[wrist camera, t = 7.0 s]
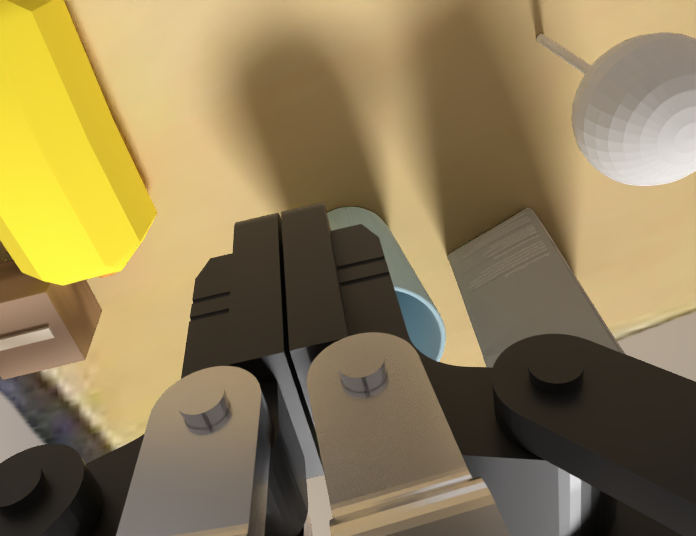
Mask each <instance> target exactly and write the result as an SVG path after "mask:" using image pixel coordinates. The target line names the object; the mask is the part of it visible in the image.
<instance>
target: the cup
mask: <svg viewBox="0 0 696 536" xmlns="http://www.w3.org/2000/svg"><path fill="white" fill-rule="evenodd" d="M327 215H328V219H329V223H330V228H331V231H332V230H337V229H341V228H345V227H350V226H354V225H358V224H362V225H364V226H365V227H366V228H368V229H369V230H370V231H371V232H373V233H374V234H375V235H377V236H378V237H379V239H380V243H381V246H382V249H383V253H384V256H385V260H386V263H387V266H388V269H389V273H390V276H391V279H392V282H393V286H394V289H395V292H396V296H397V299H398V302H399V306H400V309H401V312H402V316H403V319H404V322H405V325H406V329H407V332H408V335H409V338H410V340H411V342H412V343H413V344H414V346H415V347H416V348H417V349H418V350H419V351H420V352H421V353H423V354H424V355H426V356H427V357H429V358H431V359H433V360H435V361H438V362H439V361H440V359H441V357H442V354H443V351H444V347H445V340H446V334H445V327H444V323H443V320H442V318H441V316H440V314H439V312H438V310H437V309H436V307H435V305H434V304H433V302H432V300H431V299H430V297H429V295H428V294H427V292H426V290H425V289H424V287H423V285H422V284H421V282H420V280H419V279H418V277H417V275H416V273H415V272H414V270H413V268H412V267H411V265H410V263H409V261H408V260H407V258H406V256H405V255H404V253H403V251H402V250H401V248H400V246H399V244H398V243H397V241H396V239H395V238H394V236H393V234H392V233H391V231H390V230H389V228H388V226H387V225H386V223H385V222H384V221H383V220H382V219H381V218H380V217H379V216H378V215H377V214H375V213H374V212H371V211H369V210H366V209H364V208H360V207H343V208H338V209H334V210H332V211H330V212H328V213H327Z"/></svg>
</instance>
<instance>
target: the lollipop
mask: <svg viewBox="0 0 696 536" xmlns="http://www.w3.org/2000/svg"><path fill="white" fill-rule="evenodd" d="M537 41H538V42H539V43H540V44H542V45H543V46H545V47H546V48H548V49H549V50H551V51H552V52H553V53H555V54H556V55H558V56H559V57H561V58H562V59H564V60H565V61H566V62H568V63H569V64H571V65H572V66H574V67H575V68H577V69H578V70H579V71H581V72H582V73H584V74H585V75H584V77H583V78H582V80H581V82H580V84H579V87H578V89H577V91H576V95H575V98H574V102H573V106H572V117H571V118H572V126H573V132H574V136H575V139H576V142H577V145H578V147H579V149H580V150H581V152H582V153H583V155H584V156H585V158H586V159H587V160H588V162H589V163H590V164H591V165H592V166H593V167H595V168H596V169H597V170H598V171H599V172H601V173H602V174H604V175H605V176H607V177H609V178H611V179H613V180H614V181H617V182H620V183H624V184H627V185H635V186H653V185H661V184H667V183H671V182H674V181H677V180H680V179H682V178H684V177H686V176H688V175H690V174H692V173H693V172H695V171H696V39H695V38H692V37H689V36H686V35H683V34H676V33H655V34H647V35H640V36H637V37H634V38H631V39H628V40H625V41H623V42H621V43H620V44H618V45H616V46H614V47H612V48H611V49H610V50H608V51H607V52H606V53H604V54H603V55H602V56H601V57H599V58H598V59H597V60H596V61H595V62H594V64H593V65H592V66H591V65H589V64H588V63H586V62H585V61H583V60H582V59H580V58H579V57H577V56H576V55H574V54H573V53H571V52H569V51H568V50H566V49H565V48H563V47H562V46H560V45H559V44H557V43H556V42H554V41H553V40H551V39H550V38H548V37H546V36H545V35H543V34H539V35H538V36H537Z"/></svg>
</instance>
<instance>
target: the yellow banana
mask: <svg viewBox="0 0 696 536" xmlns="http://www.w3.org/2000/svg"><path fill="white" fill-rule="evenodd" d="M156 214H157V211H156V209H155V207H154V205H153V203H152V201H151V198H150V196H149V194H148V192H147V190H146V188H145V186H144V184H143V181H142V179H141V177H140V175H139V173H138V171H137V169H136V167H135V164H134V162H133V160H132V158H131V156H130V154H129V152H128V150H127V147H126V145H125V143H124V141H123V139H122V137H121V135H120V133H119V131H118V128H117V126H116V124H115V122H114V120H113V118H112V115H111V113H110V111H109V108H108V106H107V103H106V101H105V99H104V96H103V94H102V91H101V89H100V87H99V84H98V82H97V79H96V77H95V74H94V72H93V70H92V67H91V65H90V62H89V60H88V58H87V55H86V53H85V50H84V48H83V46H82V43H81V41H80V38H79V36H78V34H77V31H76V29H75V26H74V24H73V21H72V19H71V17H70V14H69V12H68V9H67V7H66V5H65V2H64V0H0V241H1V242H2V244H3V245H4V247H5V248H6V250H7V251H8V253H9V254H10V256H11V257H12V258H13V260H14V261H15V263H16V264H17V266H18V267H19V269H20V270H21V272H22V273H25V274H27V275H30V276H32V277H34V278H37V279H39V280H42V281H45V282H50V283H54V284H58V285H67V284H71V283H74V282H78V281H82V280H86V279H89V278H93V277H101V278H102V277H106V276H110V275H113V274H115V273H117V272H118V271H122V269H123V268H124V267H125V265H126V264H127V263H128V261H129V259H130V258H131V257H132V255H133V254H134V252H135V251H136V249H137V248H138V247H139V245H140V244H141V242H142V241H143V239H144V238H145V236H146V234H147V232H148V230H149V228H150V226H151V224H152V222H153V220H154V218H155V216H156Z"/></svg>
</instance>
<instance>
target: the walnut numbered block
mask: <svg viewBox="0 0 696 536" xmlns="http://www.w3.org/2000/svg"><path fill="white" fill-rule="evenodd" d="M101 312H102V309H101V307H100V305H99V304H98V302H97V300H96V298H95V296H94V294H93V292H92V290H91V288H90V287H89V285H88V283H87V281H86V280H82V281H78V282H74V283H71V284H67V285H58V284H54V283H50V282H45V281H42V280H39V279H37V278H34V277H32V276H30V275H27V274H25V273H22V272H21V270H20V269H19V267H18V266H17V264H16V263H15V261H14V260H10V261H6V262H2V263H0V376H1V378H2V379H3V380H4V379H8V378H12V377H16V376H21V375H25V374H29V373H33V372H37V371H41V370H45V369H50V368H54V367H58V366H62V365H66V364H70V363H74V362H79V361H83V360H85V359H86V356H87V353H88V350H89V347H90V344H91V341H92V338H93V336H94V333H95V330H96V327H97V324H98V321H99V318H100V315H101Z"/></svg>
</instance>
